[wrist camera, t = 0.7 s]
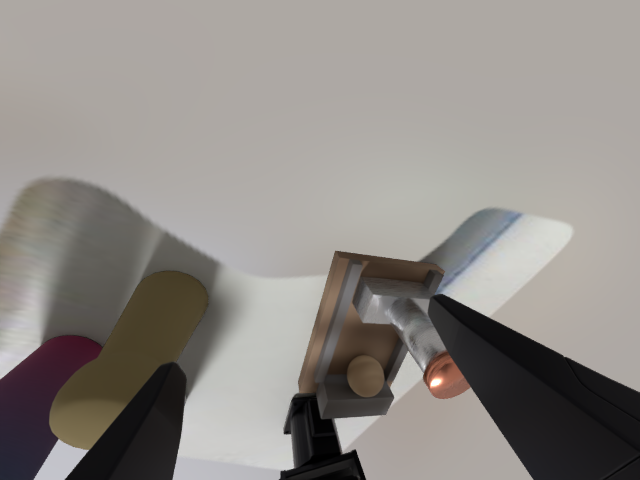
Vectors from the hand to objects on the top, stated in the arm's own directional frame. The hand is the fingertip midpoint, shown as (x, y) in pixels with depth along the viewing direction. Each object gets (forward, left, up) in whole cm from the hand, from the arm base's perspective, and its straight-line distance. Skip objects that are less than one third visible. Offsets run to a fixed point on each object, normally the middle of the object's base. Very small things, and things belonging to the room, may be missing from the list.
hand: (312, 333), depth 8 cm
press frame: (-12, -11, -14) cm, 22 cm away
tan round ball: (-15, -11, -13) cm, 23 cm away
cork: (-10, +9, -14) cm, 19 cm away
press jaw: (-6, -11, -12) cm, 18 cm away
